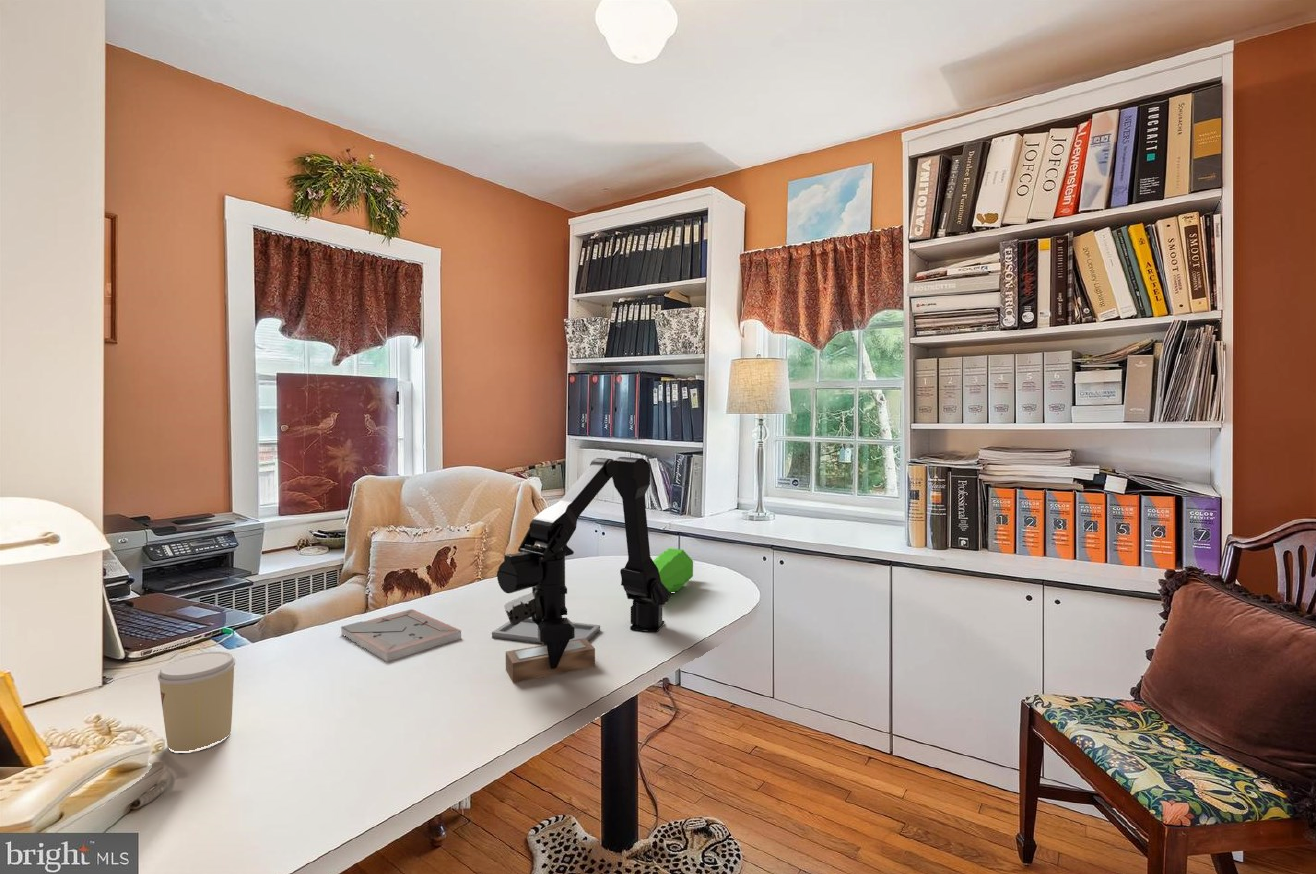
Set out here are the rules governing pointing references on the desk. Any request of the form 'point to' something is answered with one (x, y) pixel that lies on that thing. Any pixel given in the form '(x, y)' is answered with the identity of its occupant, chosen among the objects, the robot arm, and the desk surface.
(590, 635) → the display tray
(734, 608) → the desk surface
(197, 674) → the coffee cup
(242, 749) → the desk surface
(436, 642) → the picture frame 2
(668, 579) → the green faceted polyhedron
